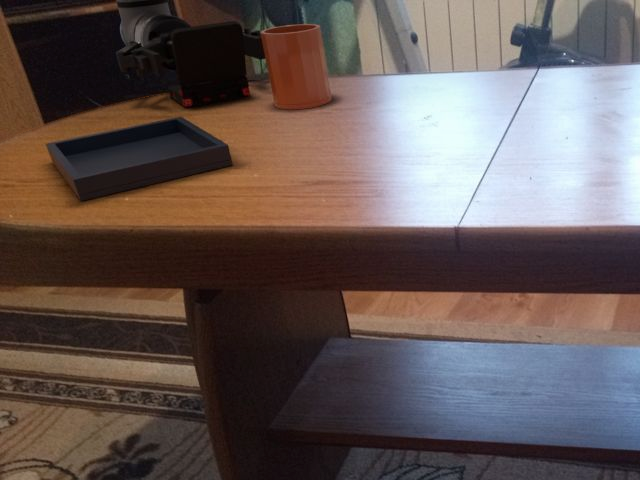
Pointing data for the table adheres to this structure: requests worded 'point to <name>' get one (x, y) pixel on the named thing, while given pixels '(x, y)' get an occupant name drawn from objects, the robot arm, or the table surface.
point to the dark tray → (136, 156)
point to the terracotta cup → (296, 66)
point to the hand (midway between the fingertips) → (212, 56)
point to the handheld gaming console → (209, 64)
